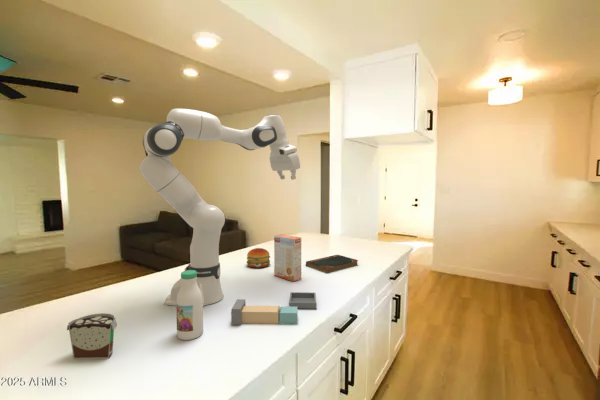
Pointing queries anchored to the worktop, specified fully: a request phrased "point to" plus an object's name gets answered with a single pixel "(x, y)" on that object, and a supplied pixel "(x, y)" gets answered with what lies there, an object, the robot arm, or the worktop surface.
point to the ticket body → (254, 313)
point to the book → (331, 263)
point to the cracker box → (287, 257)
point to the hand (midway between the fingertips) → (288, 179)
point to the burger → (258, 258)
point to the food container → (92, 336)
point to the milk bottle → (189, 307)
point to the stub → (288, 315)
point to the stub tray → (302, 300)
